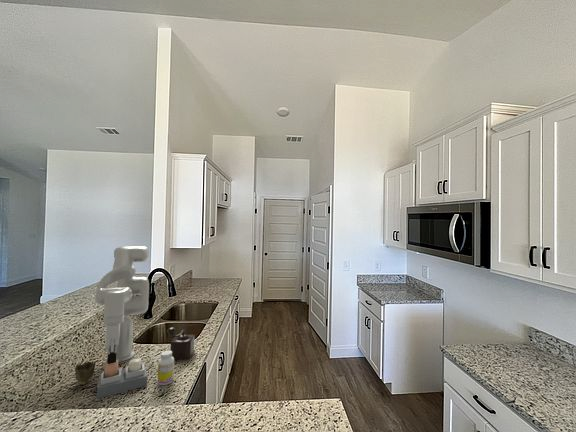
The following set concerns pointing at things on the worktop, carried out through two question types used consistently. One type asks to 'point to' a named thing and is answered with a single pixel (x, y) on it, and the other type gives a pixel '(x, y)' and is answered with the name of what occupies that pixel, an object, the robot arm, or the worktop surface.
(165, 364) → the supplement bottle
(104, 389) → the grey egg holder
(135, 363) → the knob cream
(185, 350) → the dark brown coffee grinder
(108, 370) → the brown egg
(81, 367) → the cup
